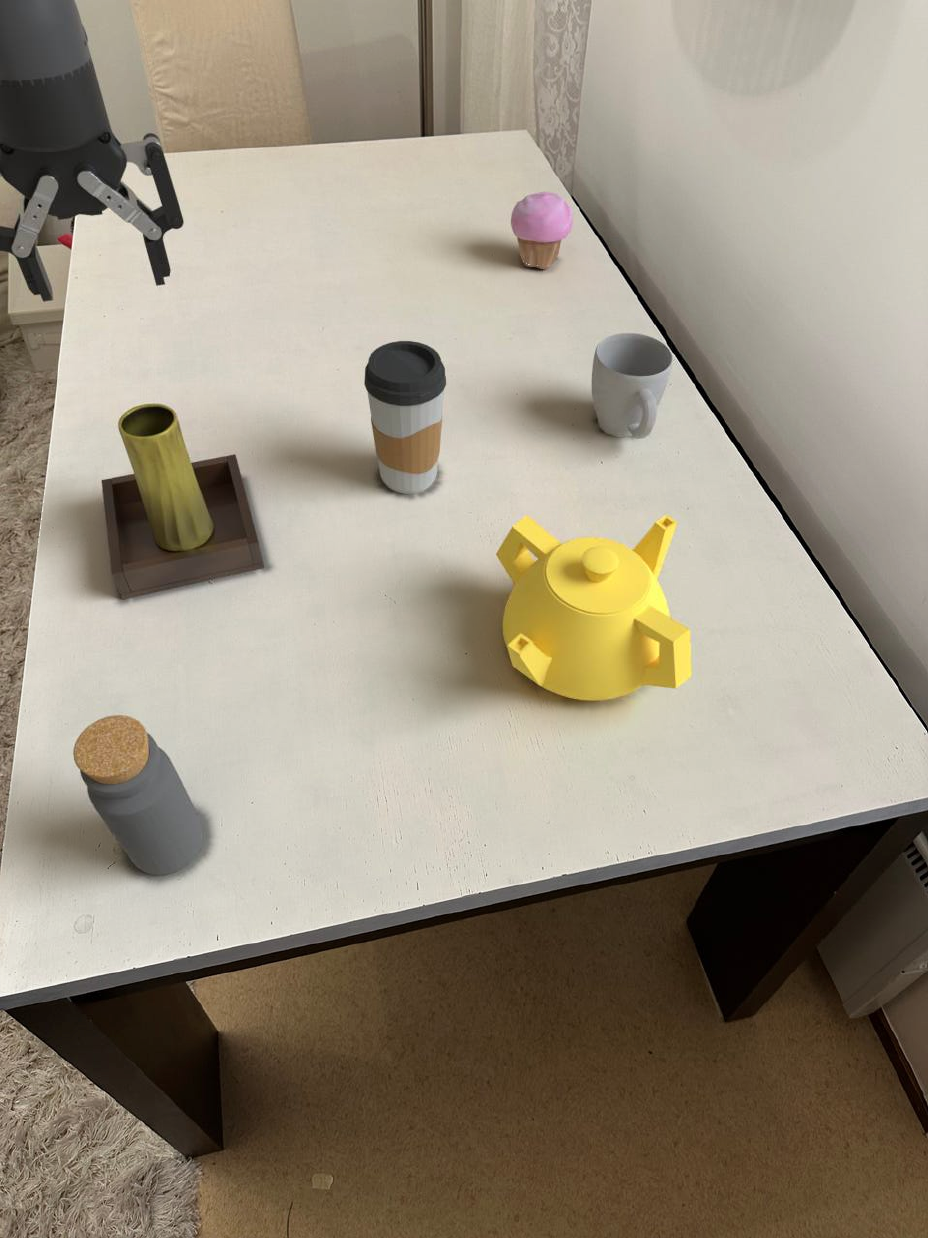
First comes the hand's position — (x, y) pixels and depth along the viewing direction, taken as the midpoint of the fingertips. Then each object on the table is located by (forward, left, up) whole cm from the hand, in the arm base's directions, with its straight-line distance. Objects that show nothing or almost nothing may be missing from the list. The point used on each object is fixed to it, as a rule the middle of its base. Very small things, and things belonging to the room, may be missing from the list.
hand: (105, 288), depth 67 cm
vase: (0, 0, -27) cm, 27 cm away
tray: (0, 0, -28) cm, 28 cm away
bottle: (-6, -34, -28) cm, 44 cm away
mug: (+52, +2, -28) cm, 59 cm away
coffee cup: (+25, +2, -28) cm, 38 cm away
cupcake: (+57, +42, -28) cm, 76 cm away
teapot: (+34, -26, -28) cm, 51 cm away
